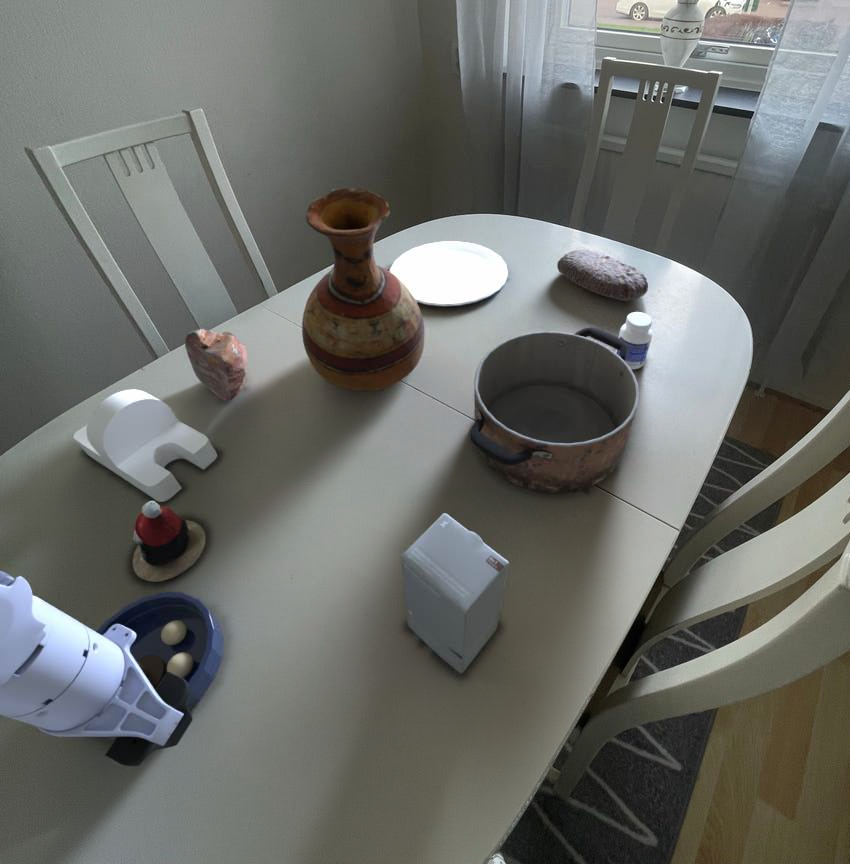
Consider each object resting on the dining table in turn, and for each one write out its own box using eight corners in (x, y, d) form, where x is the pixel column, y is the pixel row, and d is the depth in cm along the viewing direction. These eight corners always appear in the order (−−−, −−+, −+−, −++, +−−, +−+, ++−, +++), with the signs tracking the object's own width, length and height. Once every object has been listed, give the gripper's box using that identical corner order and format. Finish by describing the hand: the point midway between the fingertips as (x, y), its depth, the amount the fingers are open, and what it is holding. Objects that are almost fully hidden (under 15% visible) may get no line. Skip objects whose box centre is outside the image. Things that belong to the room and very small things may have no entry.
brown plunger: (142, 708, 52) (93, 678, 45) (116, 688, 53) (64, 655, 46) (176, 669, 54) (133, 635, 48) (150, 651, 56) (105, 615, 49)
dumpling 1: (173, 635, 54) (192, 620, 56) (155, 627, 55) (174, 612, 57) (173, 653, 55) (192, 638, 57) (155, 644, 55) (175, 629, 58)
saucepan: (545, 352, 91) (550, 302, 84) (661, 412, 81) (680, 360, 74) (426, 456, 75) (420, 405, 68) (553, 547, 65) (563, 498, 57)
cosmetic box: (406, 626, 58) (389, 559, 47) (449, 579, 62) (442, 506, 51) (464, 680, 54) (459, 619, 43) (505, 625, 58) (511, 557, 47)
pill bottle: (647, 370, 88) (659, 329, 82) (616, 370, 88) (626, 329, 82) (640, 350, 92) (652, 309, 86) (611, 350, 92) (620, 309, 86)
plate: (455, 234, 122) (454, 229, 121) (532, 277, 109) (532, 271, 108) (365, 273, 110) (365, 268, 109) (440, 326, 97) (440, 321, 96)
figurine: (103, 515, 64) (157, 466, 60) (181, 537, 70) (236, 494, 66) (81, 579, 58) (140, 529, 54) (169, 597, 64) (227, 553, 60)
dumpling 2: (181, 687, 52) (164, 672, 51) (175, 680, 54) (158, 666, 53) (201, 665, 54) (185, 650, 53) (195, 659, 55) (179, 645, 55)
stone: (192, 376, 87) (167, 329, 80) (237, 351, 92) (217, 305, 85) (233, 411, 81) (209, 364, 74) (278, 383, 86) (261, 336, 79)
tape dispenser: (162, 504, 69) (124, 454, 62) (83, 451, 76) (39, 400, 68) (220, 455, 75) (191, 404, 68) (142, 410, 82) (107, 359, 74)
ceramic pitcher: (326, 418, 80) (271, 243, 60) (302, 342, 94) (251, 178, 73) (444, 381, 86) (431, 211, 65) (406, 315, 99) (385, 156, 78)
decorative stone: (660, 284, 107) (666, 262, 103) (630, 317, 99) (636, 295, 95) (577, 255, 115) (580, 234, 112) (543, 283, 107) (545, 262, 104)
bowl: (159, 765, 49) (142, 757, 46) (57, 709, 52) (36, 699, 50) (250, 629, 58) (239, 617, 55) (158, 589, 61) (144, 575, 59)
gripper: (175, 642, 34) (247, 693, 44) (15, 570, 37) (115, 632, 47) (85, 768, 29) (188, 793, 39) (-86, 672, 33) (48, 717, 43)
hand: (144, 711), depth 43 cm, fingers open, 7 cm apart
